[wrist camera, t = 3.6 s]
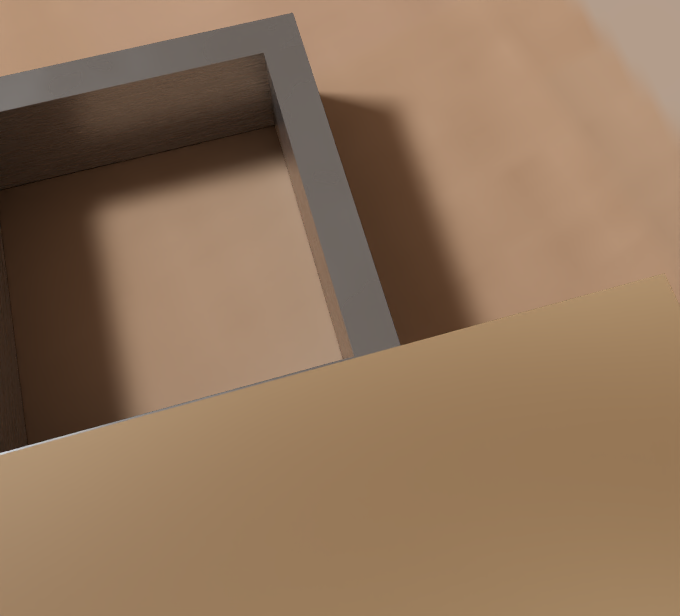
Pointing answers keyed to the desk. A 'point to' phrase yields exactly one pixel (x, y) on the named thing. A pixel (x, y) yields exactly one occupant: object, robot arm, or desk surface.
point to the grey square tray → (186, 129)
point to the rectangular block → (381, 483)
